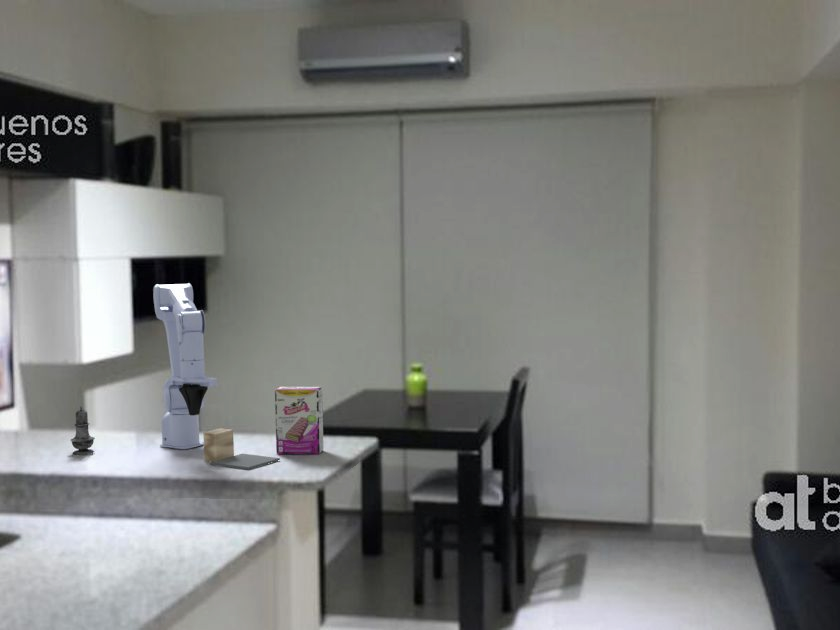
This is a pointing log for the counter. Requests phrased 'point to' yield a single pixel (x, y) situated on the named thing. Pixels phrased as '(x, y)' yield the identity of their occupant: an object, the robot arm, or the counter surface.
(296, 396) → the candy bar box
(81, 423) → the salt shaker
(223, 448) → the maple block
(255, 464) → the grey plate
